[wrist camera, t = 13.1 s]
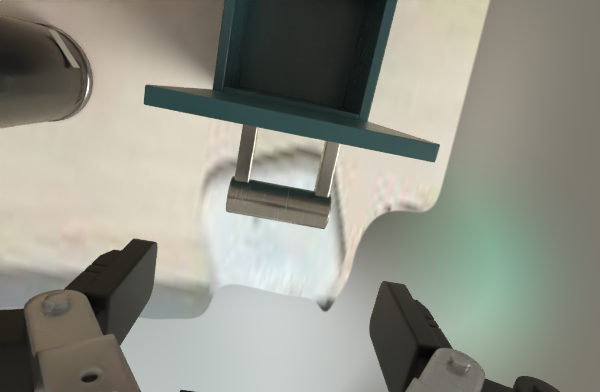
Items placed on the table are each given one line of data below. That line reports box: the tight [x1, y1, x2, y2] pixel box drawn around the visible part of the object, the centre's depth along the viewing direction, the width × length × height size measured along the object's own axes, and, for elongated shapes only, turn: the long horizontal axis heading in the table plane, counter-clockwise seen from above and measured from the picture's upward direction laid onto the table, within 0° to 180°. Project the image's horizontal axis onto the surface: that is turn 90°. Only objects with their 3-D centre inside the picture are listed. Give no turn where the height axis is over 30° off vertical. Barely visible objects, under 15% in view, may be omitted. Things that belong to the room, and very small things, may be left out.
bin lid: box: [144, 85, 440, 229], centre depth 24 cm, size 14×13×5 cm
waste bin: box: [213, 0, 397, 121], centre depth 34 cm, size 14×13×11 cm
